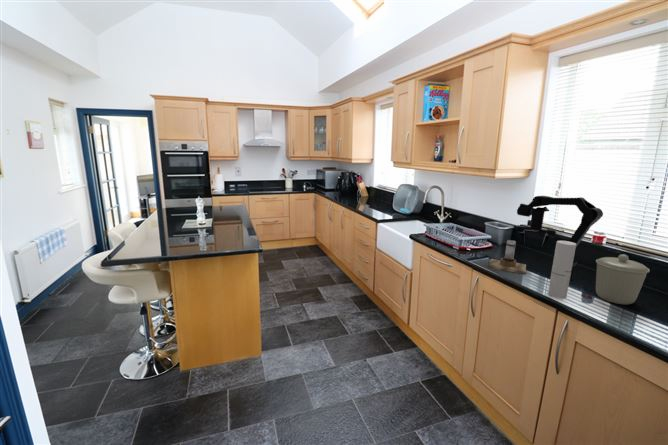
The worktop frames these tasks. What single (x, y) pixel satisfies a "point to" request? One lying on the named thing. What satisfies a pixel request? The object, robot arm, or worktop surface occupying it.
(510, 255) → the steel tube
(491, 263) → the oak base board
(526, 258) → the worktop surface
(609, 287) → the canister
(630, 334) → the worktop surface
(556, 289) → the cylindrical container
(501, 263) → the wooden collar
